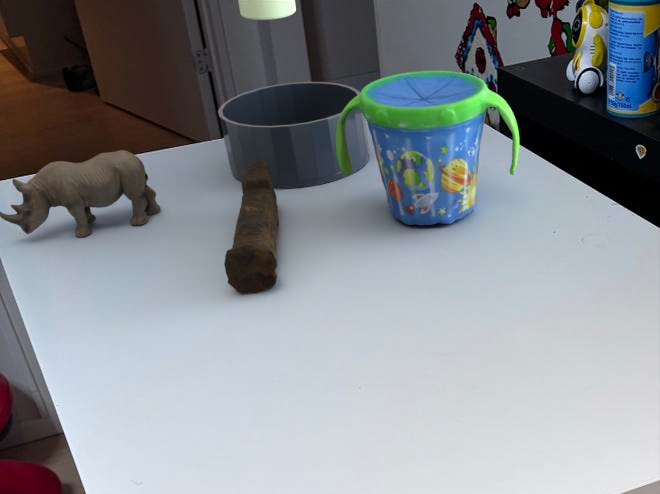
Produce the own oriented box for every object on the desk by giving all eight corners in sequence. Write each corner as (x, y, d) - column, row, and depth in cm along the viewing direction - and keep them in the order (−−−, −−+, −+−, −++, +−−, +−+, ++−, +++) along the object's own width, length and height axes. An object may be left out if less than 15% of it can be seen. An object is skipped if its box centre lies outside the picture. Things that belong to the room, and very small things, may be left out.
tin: (219, 192, 97) (205, 131, 94) (244, 143, 107) (232, 86, 104) (362, 184, 97) (354, 122, 93) (374, 135, 107) (367, 78, 103)
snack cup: (531, 192, 93) (528, 68, 86) (507, 240, 85) (501, 109, 78) (368, 188, 96) (352, 68, 89) (331, 233, 88) (311, 107, 81)
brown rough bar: (281, 293, 80) (270, 234, 77) (230, 297, 80) (217, 238, 77) (298, 204, 94) (289, 151, 91) (255, 207, 94) (245, 154, 91)
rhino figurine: (7, 237, 92) (-19, 168, 88) (158, 206, 96) (140, 138, 92) (12, 254, 89) (-15, 183, 85) (167, 220, 93) (148, 151, 89)
